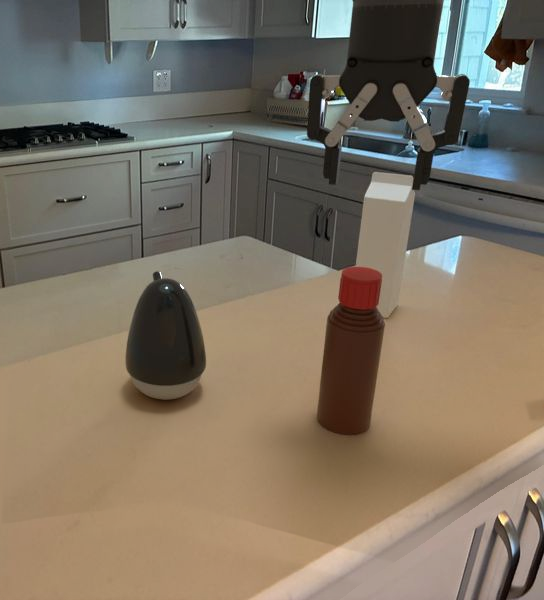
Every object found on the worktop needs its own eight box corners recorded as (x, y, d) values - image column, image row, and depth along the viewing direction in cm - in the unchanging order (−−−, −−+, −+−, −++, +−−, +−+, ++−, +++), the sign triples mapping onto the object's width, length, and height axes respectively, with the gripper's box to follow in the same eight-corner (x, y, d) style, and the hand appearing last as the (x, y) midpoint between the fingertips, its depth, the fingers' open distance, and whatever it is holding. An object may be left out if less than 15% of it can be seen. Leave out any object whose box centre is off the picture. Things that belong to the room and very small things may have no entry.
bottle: (371, 411, 74) (392, 271, 66) (367, 439, 69) (390, 292, 61) (320, 401, 76) (335, 265, 69) (312, 428, 71) (328, 284, 64)
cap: (379, 297, 67) (383, 269, 66) (377, 312, 64) (381, 282, 62) (340, 292, 69) (344, 264, 67) (336, 306, 65) (339, 277, 64)
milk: (361, 298, 104) (378, 168, 96) (398, 305, 101) (419, 171, 92) (349, 310, 100) (366, 175, 91) (388, 319, 97) (408, 179, 88)
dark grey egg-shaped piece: (194, 364, 85) (195, 261, 79) (214, 405, 76) (217, 292, 69) (121, 372, 84) (116, 267, 77) (133, 415, 74) (128, 300, 68)
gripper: (485, 0, 55) (451, 182, 62) (320, 5, 60) (306, 173, 67) (492, -3, 49) (454, 201, 55) (307, 3, 54) (293, 189, 60)
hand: (373, 185), depth 61 cm, fingers open, 7 cm apart
